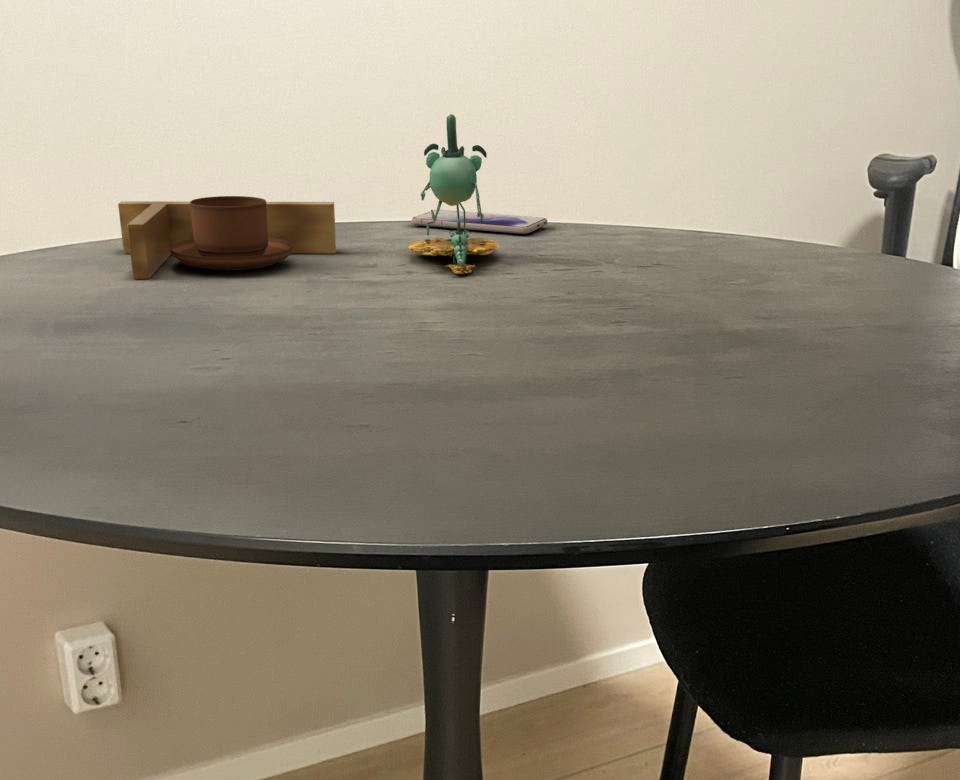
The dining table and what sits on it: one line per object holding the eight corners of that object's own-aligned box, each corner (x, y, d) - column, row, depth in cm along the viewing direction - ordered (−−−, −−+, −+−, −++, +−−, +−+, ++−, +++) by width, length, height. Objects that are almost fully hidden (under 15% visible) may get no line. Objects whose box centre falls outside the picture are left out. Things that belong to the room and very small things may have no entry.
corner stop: (95, 279, 118) (88, 224, 116) (126, 251, 131) (120, 201, 129) (329, 279, 119) (327, 224, 117) (336, 251, 133) (334, 201, 130)
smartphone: (527, 227, 142) (409, 218, 147) (526, 236, 142) (409, 226, 148) (549, 217, 148) (435, 208, 153) (549, 225, 148) (435, 216, 153)
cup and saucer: (149, 264, 125) (142, 199, 122) (252, 251, 132) (248, 189, 129) (211, 283, 117) (205, 214, 114) (317, 268, 124) (314, 202, 121)
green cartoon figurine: (386, 274, 122) (384, 109, 116) (422, 262, 138) (421, 117, 133) (484, 277, 120) (486, 110, 115) (508, 264, 137) (511, 118, 132)
